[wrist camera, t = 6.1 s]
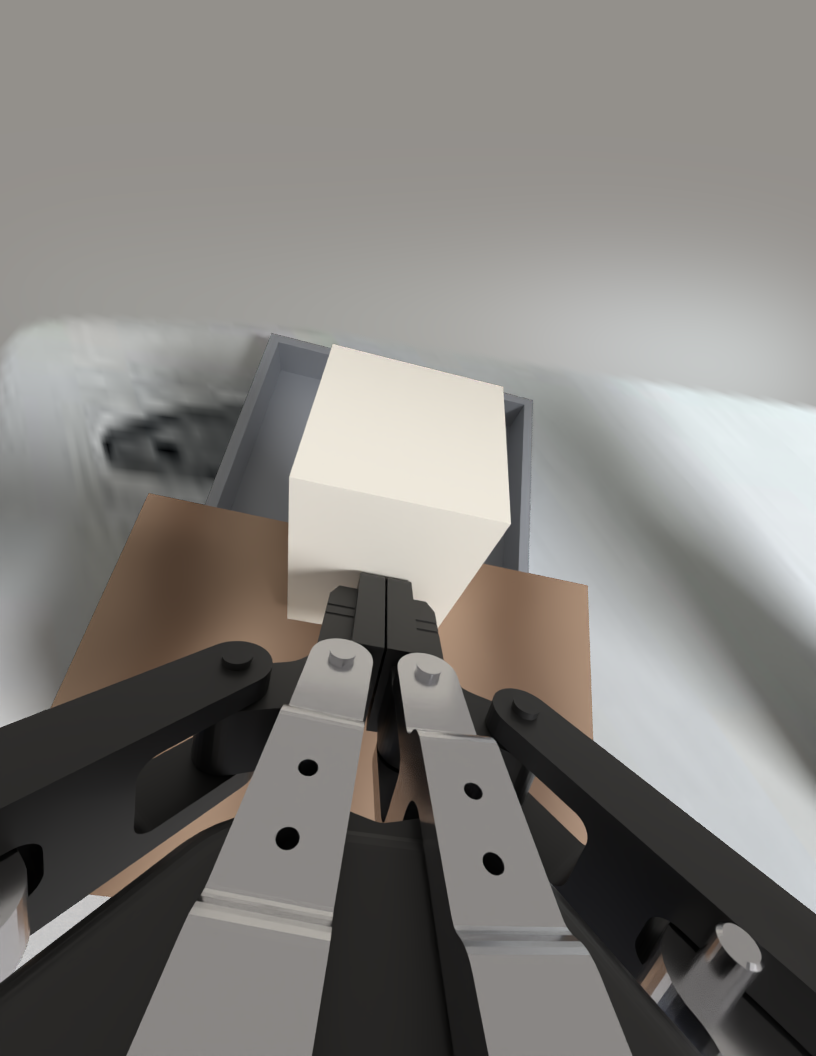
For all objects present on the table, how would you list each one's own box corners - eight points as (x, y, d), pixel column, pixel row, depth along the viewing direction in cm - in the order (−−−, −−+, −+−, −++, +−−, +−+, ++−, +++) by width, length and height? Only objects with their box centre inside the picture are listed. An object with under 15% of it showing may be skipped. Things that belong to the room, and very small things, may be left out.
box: (515, 426, 34) (532, 400, 31) (506, 621, 28) (527, 609, 25) (274, 366, 32) (271, 333, 29) (203, 562, 26) (190, 541, 23)
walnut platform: (506, 629, 27) (587, 585, 19) (494, 873, 22) (600, 951, 14) (199, 570, 25) (148, 492, 17) (107, 823, 20) (-29, 881, 12)
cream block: (435, 530, 19) (503, 386, 13) (427, 642, 16) (510, 524, 10) (317, 506, 19) (333, 344, 13) (287, 618, 16) (289, 476, 10)
